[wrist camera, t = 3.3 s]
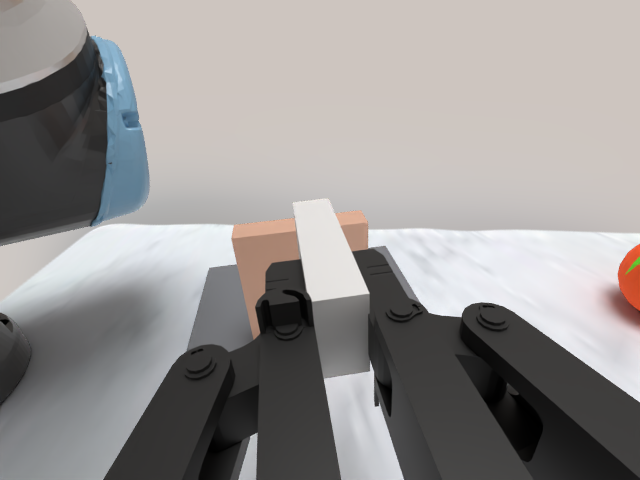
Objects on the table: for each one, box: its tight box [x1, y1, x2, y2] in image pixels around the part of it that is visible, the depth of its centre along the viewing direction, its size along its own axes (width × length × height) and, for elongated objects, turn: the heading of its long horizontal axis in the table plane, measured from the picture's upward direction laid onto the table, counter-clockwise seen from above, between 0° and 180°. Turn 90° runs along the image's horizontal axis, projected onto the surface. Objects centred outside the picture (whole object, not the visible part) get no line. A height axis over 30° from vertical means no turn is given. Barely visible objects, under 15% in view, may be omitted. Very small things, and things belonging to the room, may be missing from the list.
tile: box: [231, 211, 368, 340], centre depth 26 cm, size 9×2×10 cm, turn 98°
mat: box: [186, 246, 420, 352], centre depth 32 cm, size 20×15×1 cm
